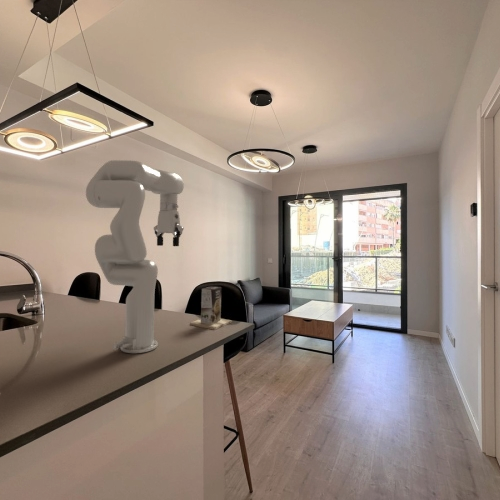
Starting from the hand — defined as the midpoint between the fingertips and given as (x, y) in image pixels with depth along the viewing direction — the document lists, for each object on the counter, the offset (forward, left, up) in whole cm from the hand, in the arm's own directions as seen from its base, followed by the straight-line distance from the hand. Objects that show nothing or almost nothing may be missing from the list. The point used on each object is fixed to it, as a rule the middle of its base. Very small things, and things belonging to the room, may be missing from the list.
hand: (167, 245), depth 130 cm
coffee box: (+14, -15, -36) cm, 41 cm away
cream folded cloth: (+14, -15, -36) cm, 42 cm away
